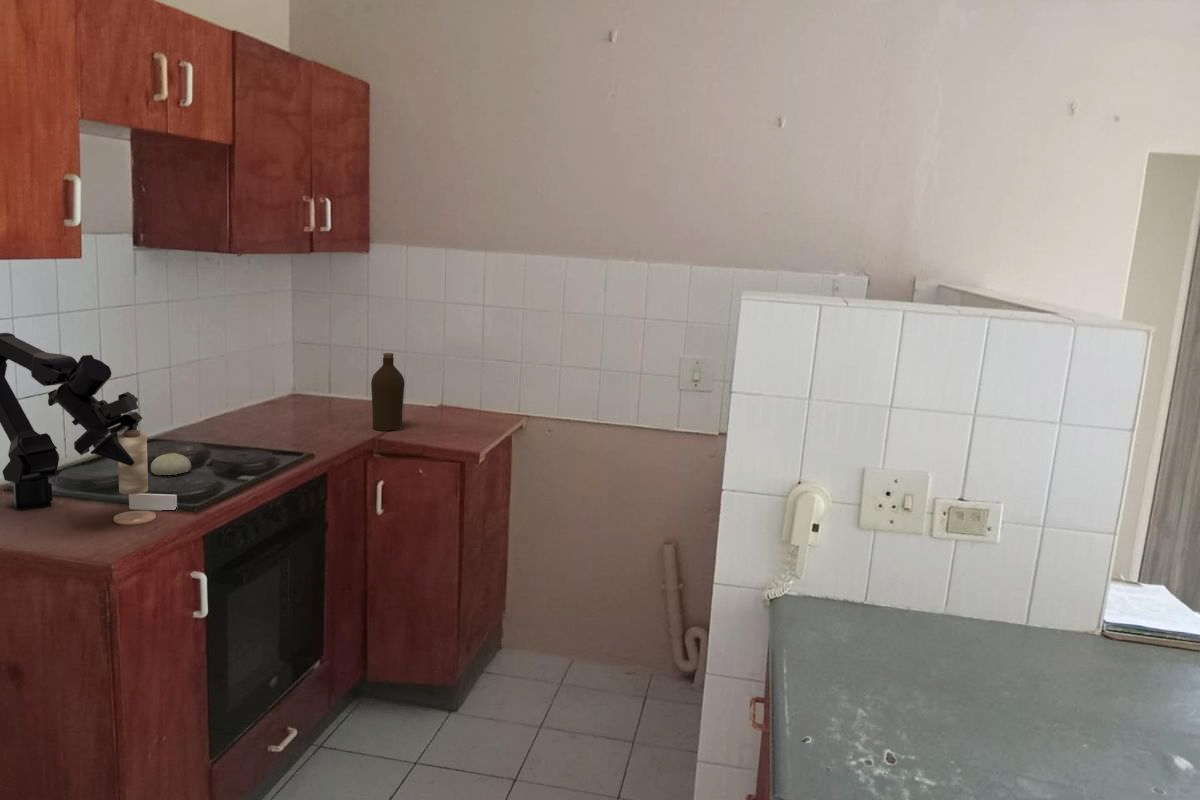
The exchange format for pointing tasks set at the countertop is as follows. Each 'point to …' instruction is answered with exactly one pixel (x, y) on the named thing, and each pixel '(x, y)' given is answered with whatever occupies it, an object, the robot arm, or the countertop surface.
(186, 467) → the sea urchin shell
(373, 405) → the olive oil
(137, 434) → the thread spool
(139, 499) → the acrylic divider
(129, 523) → the coaster
